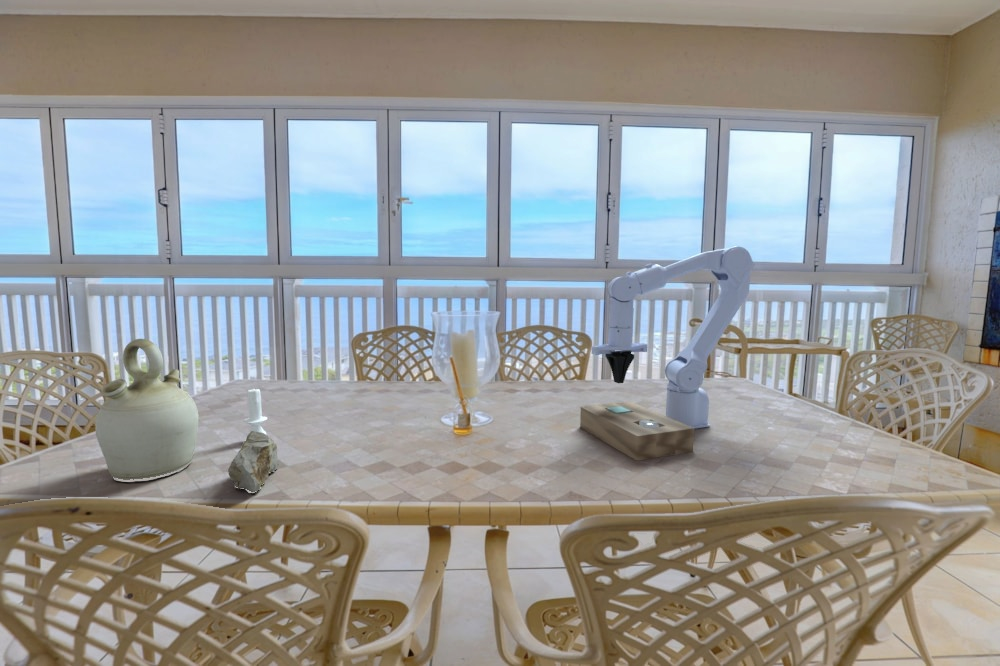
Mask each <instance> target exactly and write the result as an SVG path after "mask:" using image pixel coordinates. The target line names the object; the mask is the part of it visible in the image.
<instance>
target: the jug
mask: <svg viewBox="0 0 1000 666" xmlns="http://www.w3.org/2000/svg"><path fill="white" fill-rule="evenodd" d="M140 349H141V350H142V351H143V352H144V353H145V355H146V356H147V360H148V365H149V366H148V370H147V372H146V371H144V370H143V369H142V368H141V367H140V364H139V362H138V352H139V350H140ZM122 363H123V367H124V370H125V371H126V373H127V374H129V376H130V377H131V378H132V379H133V381H132V383H131V384H130V385H128V386H127V383H128V382H127V381H126V380H125V379H121V378H120V379H119V378H118V379H116V380H112V381H110V382H108V383H107V384H105V385H104V386H103V387H102V388H101V391H100V394H101V396H103V397H105V398H107V399H105V401H104V402H103V403H102V405H101V406H100V408H99V410H98V412H97V416H96V418H95V419H96V420H95V424H94V425H95V426H94V427H95V430H94V431H95V436H96V440H97V442H98V443H97V444H98V445H99V447H100V450H101V452H102V455H103V457H104V459H105V464H106V467H107V470H108V472H109V473H110V474H111V477H112V476H113V477H114V478H118V479H123V480H130V479H133V480H134V479H143V478H150V477H156V476H160V475H164V474H167V473H171V472H174V471H177V470H179V469H181V468H183V467H185V466H186V465H188V464H189V463H190V462H191V461H192V462H193V457H194V453H195V449H196V443H197V439H198V438H197V437H198V432H199V431H198V429H199V421H200V419H199V417H200V415H199V411H198V406H197V404H196V403H195V400H194V399H193V398H192V396H191V395H190V394H189V393H188V392H187V391H186V390H184V389H182V388H180V387H179V386H178V385H179V384H180V382H181V380H182V379H181V378H180V370H179V369H176V368H175V369H174V368H173V369H172V370H171V371H170V372H168V373H167V374H165V375H163V380H162V381H161V380H160V379H159V376H160V375H161V373H162V371H163V368H164V358H163V354H162V352H161V350H160V348H159V347H158V346H157V344H155V342H152V341H151V340H149V339H145V338H138V339H137V338H136V339H134V340H131V341H130V342H128V343H127V345H125V347H124V349H123V353H122Z"/></svg>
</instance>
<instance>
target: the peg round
mask: <svg viewBox="0 0 1000 666" xmlns="http://www.w3.org/2000/svg"><path fill="white" fill-rule="evenodd" d="M639 425H640V426H642V427H644V428H646V429H648V428H656V427H659V423H657V422H655V421H649V420H643V421H640V422H639Z"/></svg>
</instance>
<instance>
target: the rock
mask: <svg viewBox="0 0 1000 666" xmlns="http://www.w3.org/2000/svg"><path fill="white" fill-rule="evenodd" d="M249 432H250V431H249ZM246 438H247V439H246ZM246 438H245V439H246V441H244V440H243V441H244V442H242V444H241V448H240V450H239V451H238V452H237V454H236V455H235V456H234V458H233V459H232V460H231V463H230V465H229V467H228V470H227V472H228V476H229V478H230V481H231V482H234V486H236V487H238V488H244V489H247V490H249V491H251V492H255V491H258V490H259V489H260V487H261V485H262V484H263V483H265V482H267V480H268V478H269V474H270V473H269V472H273V471H274V470H276V469H277V468H278V469H279V460H278V452H277V451H278V447H277V444H276V443H275V440H273V438H272V437H271V436H269V435H266V434H264V433H261V432H255V431H251V432H250V434H249V435H248V436H247V435H246ZM278 469H277V470H278ZM277 470H276V471H277ZM265 484H266V483H265ZM234 486H233V487H234ZM258 492H259V491H258Z"/></svg>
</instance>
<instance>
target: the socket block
mask: <svg viewBox="0 0 1000 666" xmlns="http://www.w3.org/2000/svg"><path fill="white" fill-rule="evenodd" d="M620 406H621V407H624V408H626V409H628V410H630V411H631V412H629V413H620V414H615V413H613V412H611V411H609V410H607V408H612V407H620ZM579 415H580V416H579V417H580V422H579V423H580V425H579V427H580V428H581V429H583V430H584V431H586V432H588V433H589V434H591V435H593V436H594V437H596V438H598V439H600V440H601V441H603V442H604V443H606V444H608V445H609V446H611V447H613V448H614V449H616V450H617V451H619V452H622V453H623V454H624V455H626V456H628V457H629V458H632V459H633V460H635V461H636V462H637V461H644V460H648V459H655V458H661V457H666V456H673V455H678V454H679V455H680V454H685V453H687V454H688V453H691V452H694V441H695V440H694V439H695V438H694V437H695V429H694V428H693V427H690V426H688V425H685V424H683V423H681V422H678V421H676V420H673V419H671V418H669V417H666V415H665V414H664V415H663V414H661V413H659V412H656V411H653V410H651V409H649V408H647V407H644V406H641V405H640V404H637V403H635V402H632V401H623V402H622V401H621V402H613V403H606V404H604V403H603V404H595V405H587V406H580V414H579ZM643 420H649V421H655V422H657V423H659V427H656V428H648V429H646V428H644V427H642V426H640V425H639V422H640V421H643Z"/></svg>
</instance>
